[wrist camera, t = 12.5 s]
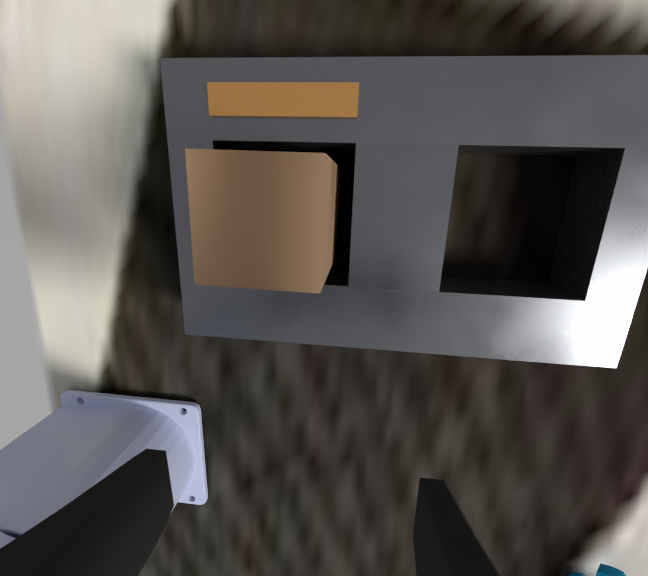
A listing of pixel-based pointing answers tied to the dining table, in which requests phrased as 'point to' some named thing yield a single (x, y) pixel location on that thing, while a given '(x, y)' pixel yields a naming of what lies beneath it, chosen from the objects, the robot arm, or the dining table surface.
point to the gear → (603, 571)
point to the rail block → (431, 196)
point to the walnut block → (262, 218)
